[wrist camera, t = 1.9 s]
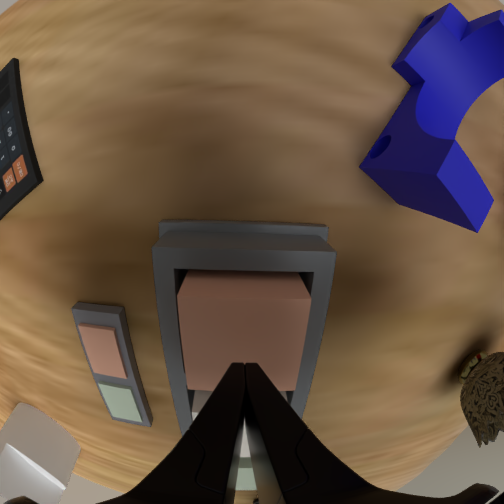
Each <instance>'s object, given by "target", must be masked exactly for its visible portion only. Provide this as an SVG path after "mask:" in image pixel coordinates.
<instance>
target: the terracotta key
mask: <svg viewBox="0 0 504 504" xmlns="http://www.w3.org/2000/svg"><path fill="white" fill-rule="evenodd" d="M311 299H312V298H311V296H310V295H309V293H308V291H307V289H306V287H305V285H304V283H303V281H302V279H301V277H300V275H299V273H298V272H288V271H240V270H205V269H189V270H188V272H187V274H186V277H185V279H184V281H183V283H182V286H181V288H180V290H179V293H178V295H177V301H178V313H179V323H180V333H181V342H182V350H183V358H184V366H185V373H186V380H187V387H188V389H190V390H204V391H214V389H215V388H216V386H217V384H218V383H219V381H220V380H221V378H222V377H223V375H224V374H225V372H226V370H227V369H228V367H229V366H230V364H231V363H232V362H243V363H244V365H245V363H246V362H256V363H258V364H259V365H260V367H261V368H262V369H263V371H264V372H265V373H266V375H267V376H268V377H269V379H270V380H271V381H272V383H273V384H274V385H275V387H276V388H277V389H278V390H279V391H294V390H295V388H296V383H297V378H298V373H299V368H300V363H301V358H302V353H303V347H304V342H305V336H306V331H307V325H308V319H309V312H310V306H311Z"/></svg>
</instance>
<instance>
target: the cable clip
mask: <svg viewBox="0 0 504 504" xmlns="http://www.w3.org/2000/svg"><path fill="white" fill-rule="evenodd" d="M392 68H393V69H395V70H396V71H397V72H398V73H399V74H400V75H401V76H402V77H403V78H404V79H405V80H406V81H407V82H408V83H409V84H410V85H411V88H410V89H409V91H408V93H407V94H406V96H405V97H404V99H403V101H402V102H401V104H400V105H399V107H398V108H397V110H396V112H395V113H394V115H393V116H392V118H391V119H390V121H389V123H388V124H387V126H386V127H385V129H384V130H383V132H382V133H381V135H380V136H379V138H378V139H377V141H376V142H375V144H374V145H373V147H372V148H371V150H370V151H369V153H368V154H367V156H366V157H365V159H364V160H363V162H362V163H361V165H360V166H359V168H360V169H362V170H363V171H364V172H365V173H366V174H367V175H368V176H369V177H371V178H372V179H373V180H374V181H375V182H376V183H377V184H378V185H379V186H380V187H381V188H382V189H383V190H384V191H386V192H387V193H388V194H389V195H390V196H391V197H392V198H393V199H394V200H395V201H396V202H397V203H398V204H399V205H402V206H405V207H408V208H412V209H415V210H417V211H420V212H423V213H426V214H429V215H432V216H435V217H438V218H440V219H443V220H446V221H448V222H451V223H454V224H456V225H459V226H461V227H464V228H467V229H469V230H472V231H474V232H476V233H478V231H479V229H480V228H481V226H482V224H483V222H484V220H485V218H486V216H487V214H488V212H489V210H490V208H491V206H492V203H493V201H494V200H493V198H492V196H491V194H490V192H489V191H488V189H487V187H486V185H485V184H484V182H483V180H482V179H481V177H480V175H479V174H478V172H477V171H476V169H475V167H474V166H473V164H472V163H471V161H470V160H469V158H468V157H467V155H466V154H465V153H464V151H463V150H462V148H461V147H460V146H459V144H458V143H457V141H456V140H455V136H456V132H457V130H458V127H459V125H460V123H461V120H462V119H463V117H464V115H465V113H466V112H467V110H468V109H469V107H470V106H471V105H472V103H473V102H474V101H475V100H476V99H477V98H478V97H479V96H480V95H481V94H482V93H483V92H484V91H485V90H486V89H487V88H489V87H490V86H491V85H493V84H494V83H495V82H497V81H499V80H500V79H502V78H504V12H503V11H502V10H498V11H496V12H493V13H490V14H487V15H485V16H482V17H480V18H477V19H475V20H472V21H470V22H468V21H467V20H466V19H465V17H464V16H463V15H462V14H461V13H460V12H459V11H458V10H457V9H456V8H455V7H454V6H453V5H452V4H451V3H449V4H447V5H445V6H443V7H442V8H440V9H438V10H437V11H435V12H433V13H431V14H430V15H428V16H427V17H425V18H424V20H423V21H422V23H421V24H420V26H419V27H418V29H417V30H416V32H415V33H414V34H413V36H412V37H411V39H410V40H409V42H408V43H407V45H406V46H405V48H404V49H403V51H402V52H401V54H400V55H399V56H398V58H397V59H396V61H395V62H394V64H393V65H392Z"/></svg>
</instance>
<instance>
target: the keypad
mask: <svg viewBox="0 0 504 504" xmlns="http://www.w3.org/2000/svg"><path fill="white" fill-rule="evenodd" d="M328 228H329V227H327V226H326V225H323V224H304V223H282V222H256V221H221V220H161V221H160V222H159V240H158V241H157V242H156V243H155V244H154V245H153V246H152V259H153V271H154V282H155V292H156V300H157V309H158V316H159V324H160V331H161V337H162V344H163V350H164V356H165V361H166V367H167V372H168V377H169V382H170V387H171V392H172V396H173V401H174V405H175V410H176V414H177V418H178V422H179V426H180V430H181V433H182V436H183V435H184V434H185V432H186V431H187V430H189V429H188V428H189V426H190V425H191V424H192V422H193V417H192V407H193V400H194V394H195V390H190V389H188V387H187V380H186V373H185V366H184V358H183V350H182V342H181V333H180V323H179V313H178V301H177V295H178V293H179V290H180V288H181V286H182V283H183V281H184V279H185V277H186V274H187V272H188V270H189V269H205V270H240V271H288V272H298V273H299V275H300V277H301V279H302V281H303V283H304V285H305V287H306V289H307V291H308V293H309V295H310V296H311V298H312V299H311V306H310V312H309V319H308V325H307V331H306V336H305V342H304V347H303V353H302V358H301V363H300V368H299V373H298V378H297V383H296V388H295V390H294V391H286V396H287V401H288V403H289V404H290V406H291V407H292V408H293V409H294V411H295V412H296V413H297V414H298V416H299V417H300V418H301V419H302V416H303V412H304V409H305V405H306V402H307V398H308V394H309V390H310V387H311V383H312V379H313V375H314V371H315V366H316V362H317V358H318V354H319V349H320V345H321V340H322V335H323V330H324V325H325V320H326V315H327V310H328V305H329V299H330V293H331V287H332V281H333V275H334V269H335V262H336V255H337V252H336V251H335V250H334V249H333V248H332V247H331V246H330V245H329V244H328V243H327V237H328Z"/></svg>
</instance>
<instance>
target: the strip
mask: <svg viewBox="0 0 504 504" xmlns="http://www.w3.org/2000/svg"><path fill="white" fill-rule="evenodd" d="M71 309H72V313H73V317H74V320H75V324H76V327H77V331H78V334H79V337H80V340H81V344H82V347H83V350H84V353H85V355H86V358H87V361H88V364H89V366H90V369H91V372H92V374H93V377H94V379H95V382H96V384H97V387H98V389H99V391H100V394H101V396H102V398H103V400H104V403H105V405H106V407H107V409H108V411H109V413H110V415H111V417H112V419H113V420H117V421H122V422H126V423H131V424H137V425H142V426H148V427H151V425H152V422H153V418H152V415H151V412H150V409H149V406H148V402H147V399H146V396H145V393H144V390H143V386H142V383H141V379H140V376H139V372H138V368H137V365H136V361H135V357H134V353H133V348H132V344H131V340H130V335H129V331H128V326H127V321H126V316H125V310H124V307H118V306H108V305H99V304H90V303H82V302H77V303H76V304H75V305H74V306H73V307H72V308H71Z"/></svg>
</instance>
